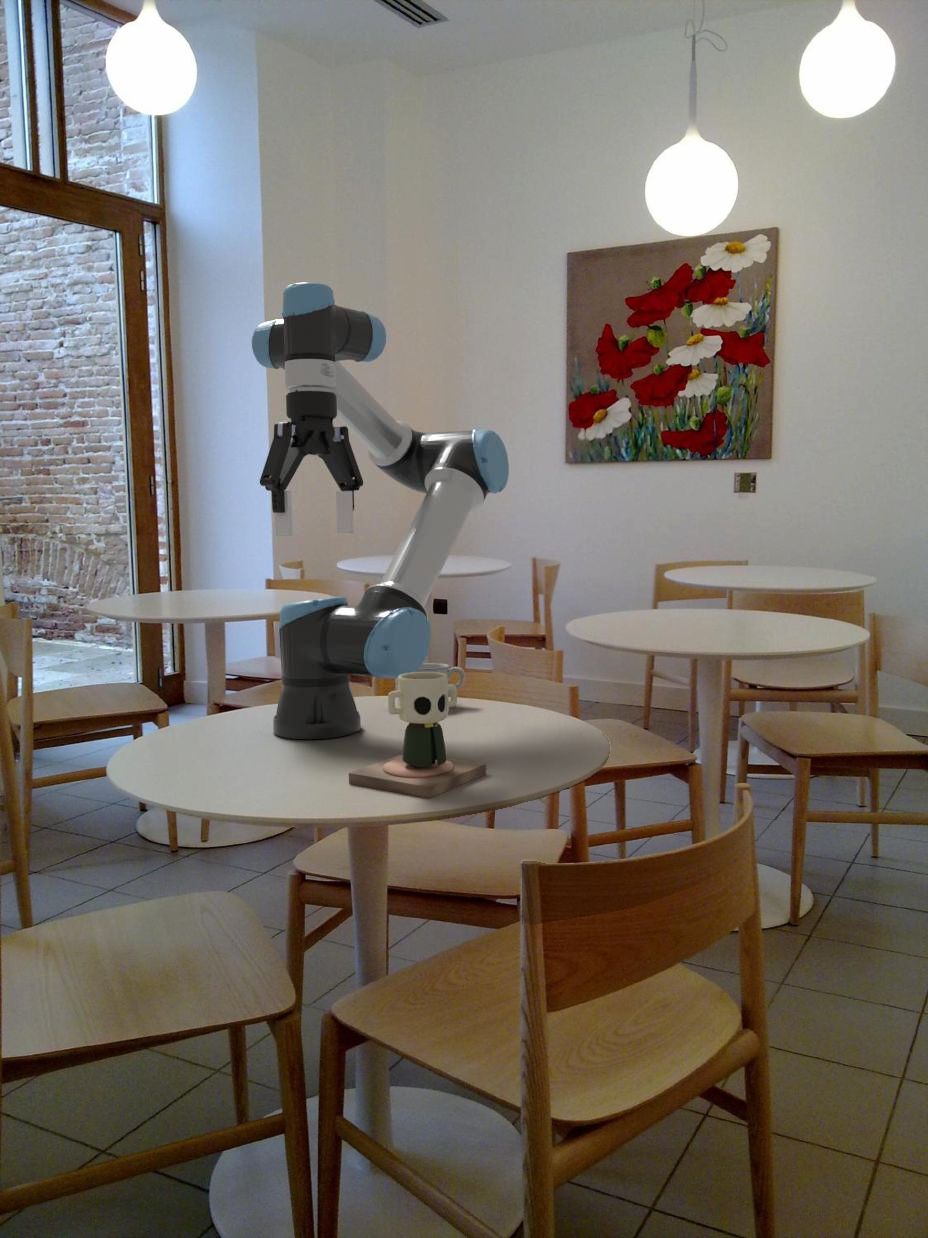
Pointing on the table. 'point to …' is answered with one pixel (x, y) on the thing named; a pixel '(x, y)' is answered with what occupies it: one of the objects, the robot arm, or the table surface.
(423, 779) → the walnut board
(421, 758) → the character mug
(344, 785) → the table surface
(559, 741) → the table surface
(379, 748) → the table surface
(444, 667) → the teacup
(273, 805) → the table surface
